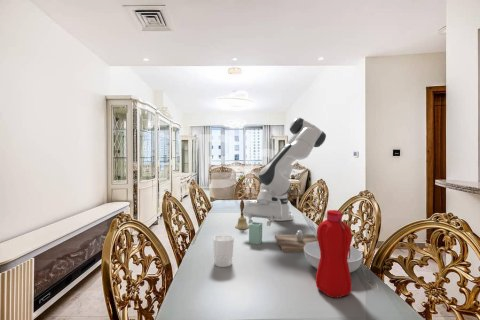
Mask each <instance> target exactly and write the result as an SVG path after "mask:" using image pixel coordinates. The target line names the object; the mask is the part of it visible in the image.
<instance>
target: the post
mask: <svg viewBox="0 0 480 320" xmlns="http://www.w3.org/2000/svg"><path fill="white" fill-rule="evenodd" d="M295 235H296V241H297V242H303V235H304V234H303V231H302V230H301V229H297V231H296V233H295Z"/></svg>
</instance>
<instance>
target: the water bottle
mask: <svg viewBox="0 0 480 320" xmlns="http://www.w3.org/2000/svg"><path fill="white" fill-rule="evenodd" d="M342 218H343V213H342V211H341V210H337V209H328V210H327V211H326V219H325V220H324V221H321V222H320V223H319V224H318V226H317V229H316V237H317V239H318V243H319V248H320V261H319V265H318V269H317V268H316V269H317V270H316V274H315V275H316V276H315V286H316V287H317V289H318V290H319V291H321V292H322V293H323V294H325V295H327V296H328V297H330V298H341V297H343V296H348V295H350V293H351V292H352V276H351V273H350V271H349V266H348V261H347V259H349V258H350V246H352V240H353V236H352V230H351V227H350V226H349V225H348V224H347V223H346V222H344V221H343V219H342ZM348 253H349V258H348Z"/></svg>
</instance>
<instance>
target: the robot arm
mask: <svg viewBox="0 0 480 320" xmlns="http://www.w3.org/2000/svg"><path fill="white" fill-rule="evenodd" d="M289 132H290V133H291V134H293V135H292V136H291V137H290V138H289V139H288V141H287V142H286V144H285V145H284V146H282V147H281V148H280V149H279V150H278V151H277V153H275V154H274V155H273V157H272V158H271V159H270V160H269V161H268V162H267V163H266V164H265V165H264V166H263V167H262V168H261V169H260V170H259V173H258V180H259V182H260V183H261V184H260V187H259V193H258V194H257V198H256V200H251V199H249V200H247V201H246V202H244V209H243V214H244V217H245V218H246V217H247V218H248V225H249V224H250V223H252V222H254V221H253V219H252V218H257V219H258V218H260V219H268V221H266V226H268V227H271V224H272V223H273V222H274V221H280V222H282V221H293V220H294V218H293V217H294V216H293V213H291V210H290V205H289V198H288V193H289V191H290V189H291V184H292V183H291V181H290V176H291V174H292V172H293V165H292V164H293V163H294V162H295V161H297V160H305V159H306V158H308V157H309V155H310V154H311V152H312V151H313V149H314V148H319V147H321V146H322V145H323V144H324V143H325V141H326V139H327V135H326V133H325V132H324V131H323V130H321V129H320V128H319V127H317V126H316V125H315V124H313V123H311V122H309V121H307V120H305V119H304V118H302V117H296V118H295V119H293V120H292V122H291V123H290V126H289Z"/></svg>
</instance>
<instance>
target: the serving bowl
mask: <svg viewBox="0 0 480 320" xmlns="http://www.w3.org/2000/svg"><path fill="white" fill-rule="evenodd" d="M303 254H304V257H305V259H306V261H307V262H308V264H310V265H311V266H312V267H314V268H315V269H318V265H319V261H320V248H319V243H318V241H316V242H311V243H308V244H306V245H305V246H304V252H303ZM348 258H349V253H348ZM363 260H364V255H363V252H362V251H361V250H359V249H358V248H356V247H354V246H352V245H350V258H349V259H347V261H348V266H349V271H350V274H351V273H354V272H355V271H357V270H358V269H359V267H360V266H361V265H362V263H363Z"/></svg>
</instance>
